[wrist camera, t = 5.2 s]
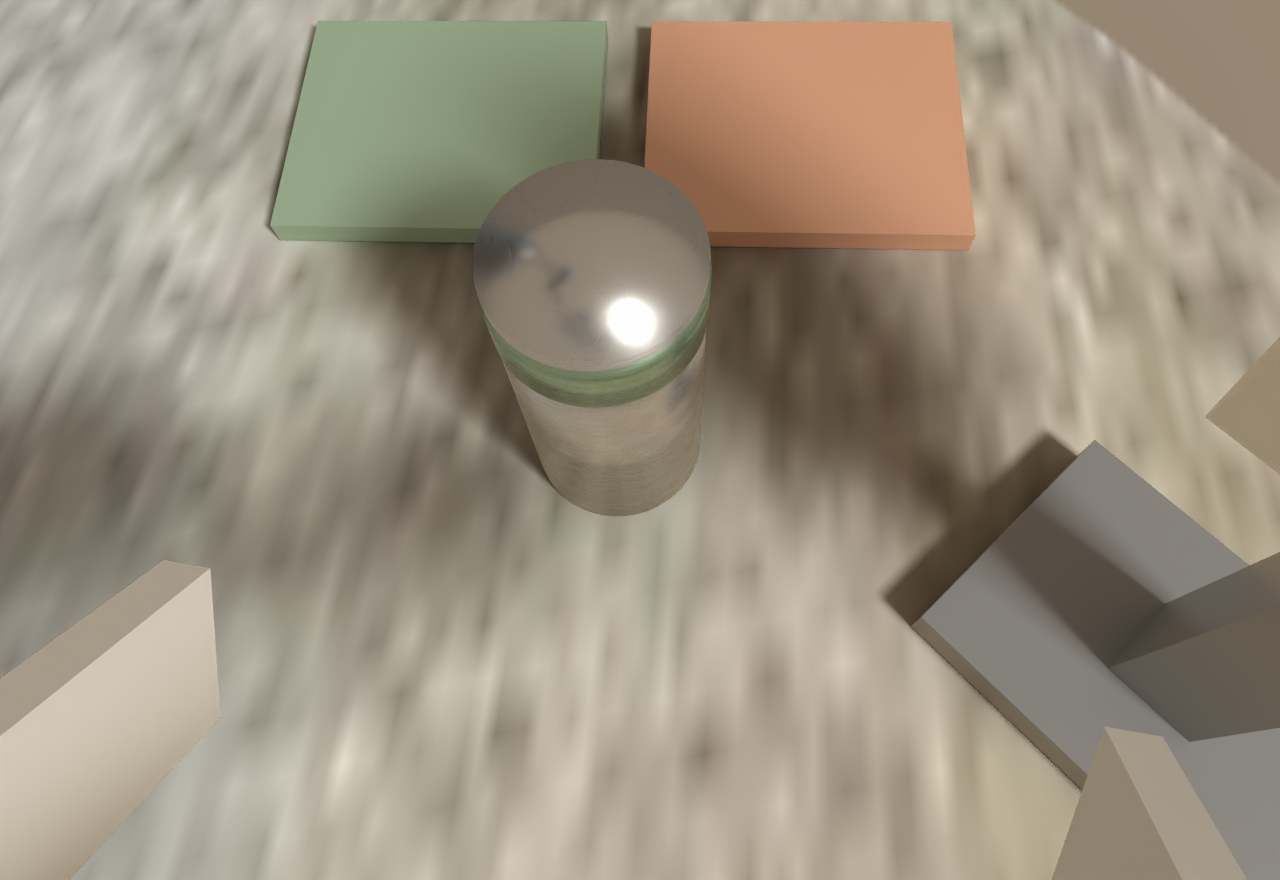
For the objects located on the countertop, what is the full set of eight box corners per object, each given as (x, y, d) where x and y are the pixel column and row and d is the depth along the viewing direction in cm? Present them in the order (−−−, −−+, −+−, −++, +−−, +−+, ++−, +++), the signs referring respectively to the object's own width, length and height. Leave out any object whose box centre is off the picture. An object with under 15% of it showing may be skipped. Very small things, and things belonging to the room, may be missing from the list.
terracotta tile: (652, 39, 42) (651, 21, 41) (945, 40, 41) (951, 22, 40) (641, 245, 37) (641, 230, 37) (968, 250, 37) (975, 235, 36)
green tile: (325, 38, 42) (317, 20, 42) (608, 39, 42) (606, 21, 41) (279, 240, 38) (269, 225, 37) (593, 244, 38) (590, 230, 37)
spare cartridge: (543, 363, 36) (483, 156, 25) (702, 367, 35) (714, 158, 24) (530, 514, 33) (456, 361, 22) (700, 519, 33) (710, 366, 22)
